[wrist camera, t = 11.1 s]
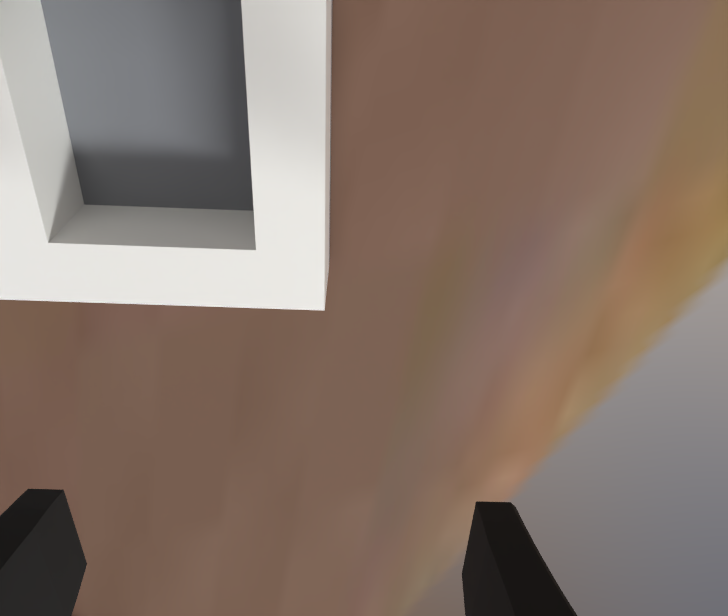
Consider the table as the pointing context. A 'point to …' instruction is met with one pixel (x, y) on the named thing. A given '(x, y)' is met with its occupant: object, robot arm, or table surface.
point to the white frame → (166, 152)
